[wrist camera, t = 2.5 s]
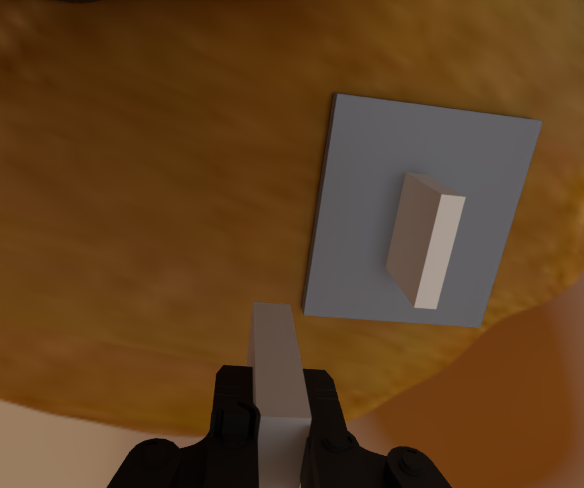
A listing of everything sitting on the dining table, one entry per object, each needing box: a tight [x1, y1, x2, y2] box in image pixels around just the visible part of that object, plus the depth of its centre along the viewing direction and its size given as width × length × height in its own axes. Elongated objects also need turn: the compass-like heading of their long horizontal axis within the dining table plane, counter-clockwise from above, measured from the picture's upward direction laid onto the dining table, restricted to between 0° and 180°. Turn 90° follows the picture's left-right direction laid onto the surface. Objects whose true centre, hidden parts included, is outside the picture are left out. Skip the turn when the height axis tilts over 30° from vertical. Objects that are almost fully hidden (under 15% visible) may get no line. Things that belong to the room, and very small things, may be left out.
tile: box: [386, 172, 466, 309], centre depth 33 cm, size 8×2×7 cm, turn 173°
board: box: [302, 93, 543, 327], centre depth 37 cm, size 18×16×2 cm
